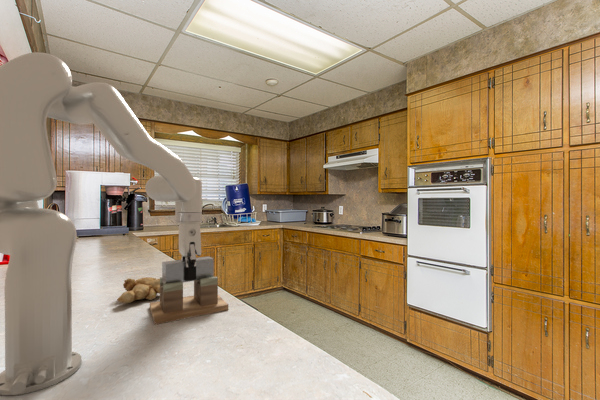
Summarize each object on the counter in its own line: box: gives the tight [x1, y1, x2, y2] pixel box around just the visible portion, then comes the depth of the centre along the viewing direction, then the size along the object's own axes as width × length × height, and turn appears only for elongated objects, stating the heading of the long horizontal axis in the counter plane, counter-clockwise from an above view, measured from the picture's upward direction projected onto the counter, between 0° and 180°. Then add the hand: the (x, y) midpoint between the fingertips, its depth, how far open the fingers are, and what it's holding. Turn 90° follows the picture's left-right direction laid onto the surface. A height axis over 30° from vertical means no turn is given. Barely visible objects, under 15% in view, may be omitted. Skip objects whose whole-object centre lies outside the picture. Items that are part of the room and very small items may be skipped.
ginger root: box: [116, 276, 160, 304], centre depth 100 cm, size 16×16×8 cm
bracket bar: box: [161, 256, 215, 284], centre depth 89 cm, size 4×14×6 cm, turn 128°
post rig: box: [149, 276, 229, 325], centre depth 90 cm, size 14×20×10 cm
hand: (188, 277), depth 89 cm, fingers closed on bracket bar, 4 cm apart
